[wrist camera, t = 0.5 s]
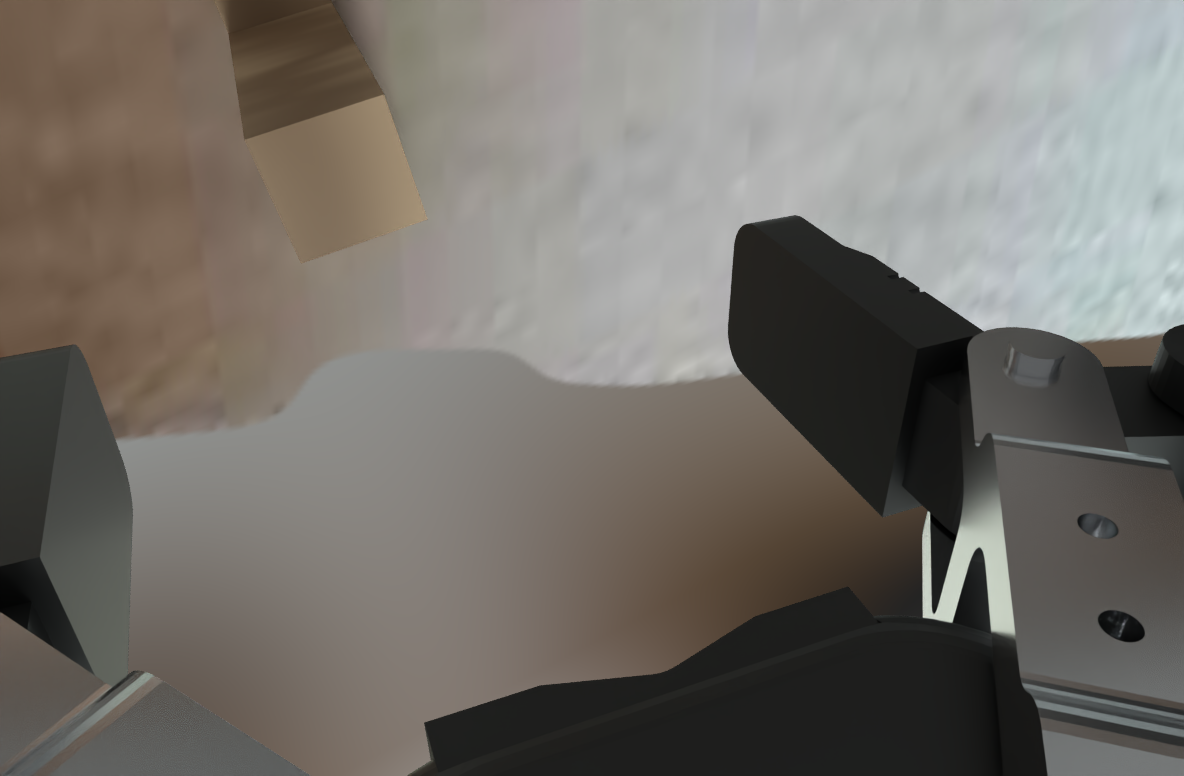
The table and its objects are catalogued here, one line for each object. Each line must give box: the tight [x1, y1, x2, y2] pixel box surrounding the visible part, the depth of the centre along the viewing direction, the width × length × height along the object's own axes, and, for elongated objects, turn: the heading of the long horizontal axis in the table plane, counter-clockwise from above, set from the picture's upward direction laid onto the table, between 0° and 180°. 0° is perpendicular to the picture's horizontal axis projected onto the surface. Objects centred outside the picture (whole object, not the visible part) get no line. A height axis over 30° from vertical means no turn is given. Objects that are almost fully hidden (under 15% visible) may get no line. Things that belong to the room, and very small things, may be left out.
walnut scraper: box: [214, 0, 427, 264], centre depth 25 cm, size 3×11×12 cm, turn 12°
